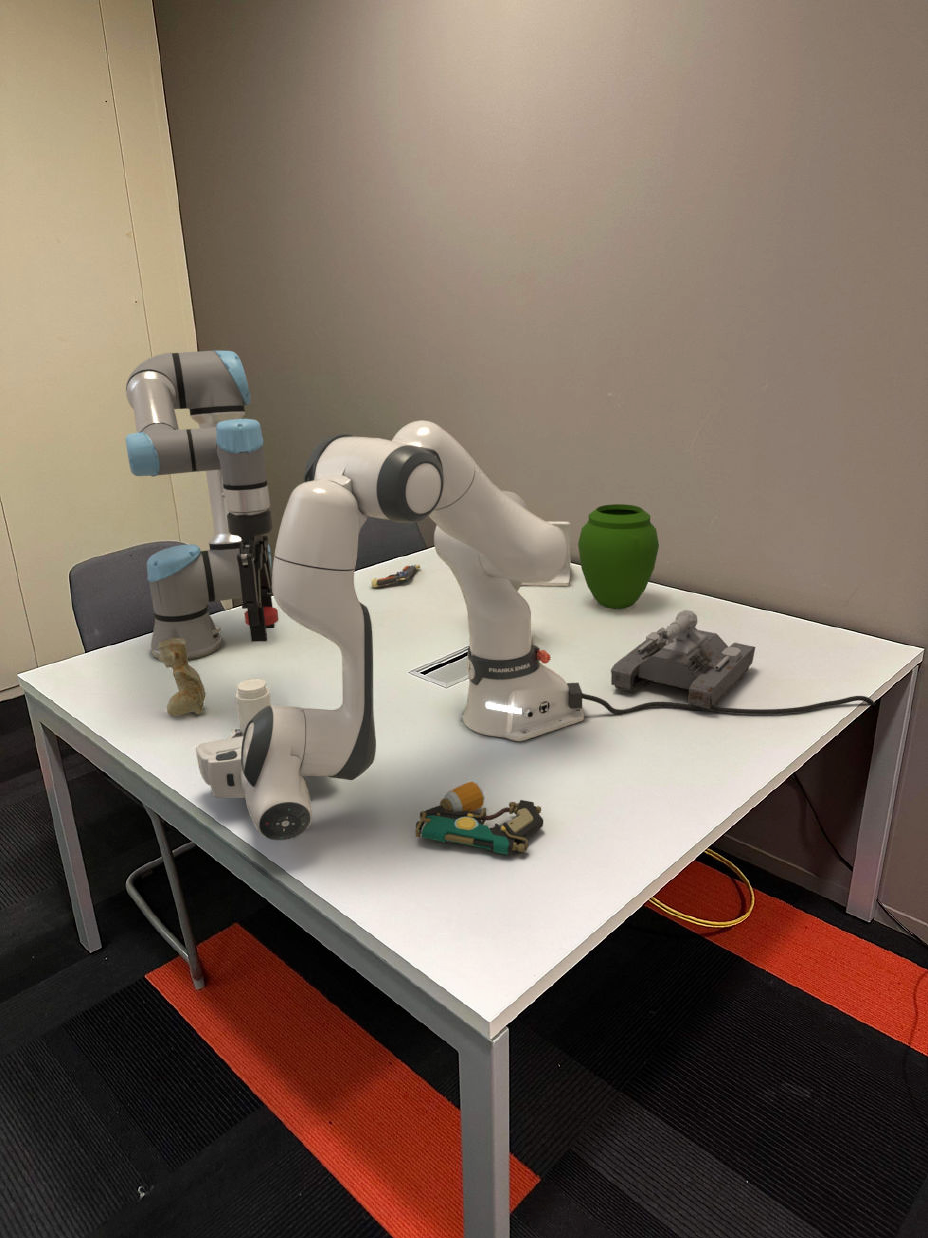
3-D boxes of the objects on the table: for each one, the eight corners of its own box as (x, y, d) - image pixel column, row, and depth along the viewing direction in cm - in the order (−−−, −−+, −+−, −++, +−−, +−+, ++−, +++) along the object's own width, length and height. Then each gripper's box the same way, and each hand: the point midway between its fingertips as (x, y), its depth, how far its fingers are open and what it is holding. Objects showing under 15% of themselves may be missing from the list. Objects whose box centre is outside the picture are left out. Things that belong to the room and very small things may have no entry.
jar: (243, 776, 142) (231, 692, 137) (248, 759, 147) (238, 678, 142) (275, 774, 142) (265, 690, 137) (280, 758, 147) (270, 676, 142)
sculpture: (171, 706, 167) (160, 635, 161) (209, 704, 167) (199, 633, 162) (165, 720, 161) (153, 647, 156) (204, 717, 162) (193, 644, 157)
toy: (661, 649, 187) (665, 584, 181) (753, 669, 176) (760, 600, 170) (609, 692, 167) (612, 620, 162) (708, 717, 156) (715, 641, 151)
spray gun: (554, 825, 127) (505, 884, 116) (460, 789, 135) (404, 841, 124) (556, 801, 125) (505, 859, 114) (460, 766, 133) (404, 817, 122)
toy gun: (368, 580, 231) (404, 577, 228) (387, 564, 248) (420, 561, 246) (370, 589, 231) (405, 586, 229) (389, 573, 249) (422, 570, 247)
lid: (283, 621, 155) (282, 612, 155) (252, 629, 152) (251, 619, 152) (271, 613, 160) (270, 604, 159) (240, 620, 157) (239, 611, 156)
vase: (599, 587, 227) (601, 497, 218) (668, 600, 216) (673, 505, 208) (562, 608, 212) (564, 513, 204) (634, 623, 202) (639, 523, 193)
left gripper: (240, 499, 158) (254, 617, 166) (212, 524, 140) (229, 654, 148) (280, 498, 158) (293, 616, 166) (257, 522, 140) (273, 653, 148)
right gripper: (333, 737, 133) (316, 701, 145) (197, 763, 126) (191, 723, 139) (337, 772, 135) (319, 734, 147) (203, 800, 129) (197, 757, 141)
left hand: (263, 633), depth 157 cm, fingers closed on lid, 6 cm apart
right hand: (256, 729), depth 143 cm, fingers closed on jar, 5 cm apart
